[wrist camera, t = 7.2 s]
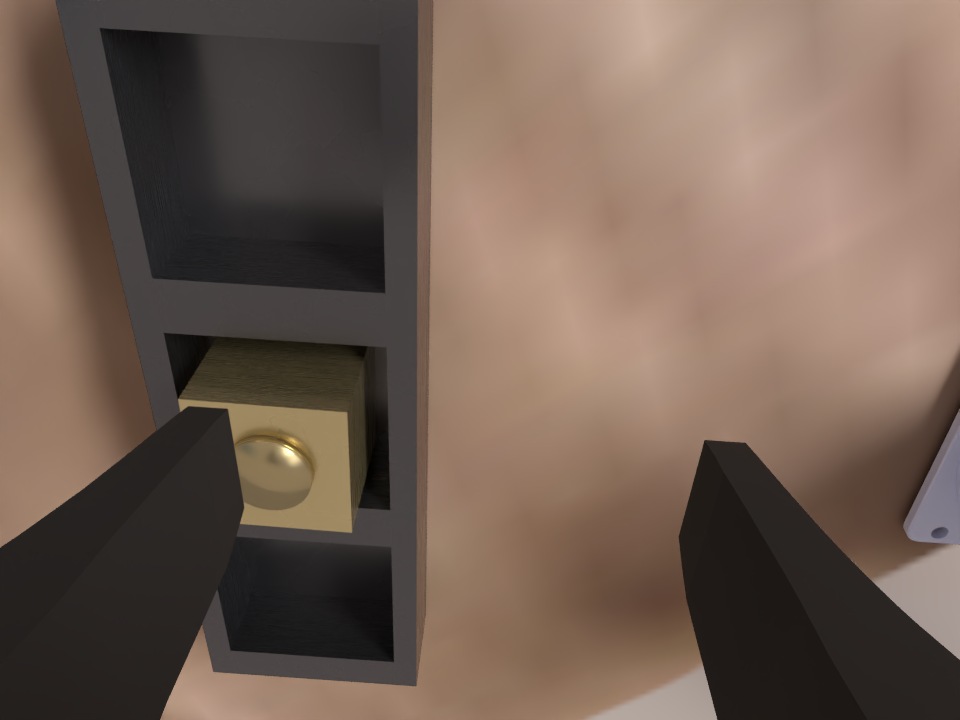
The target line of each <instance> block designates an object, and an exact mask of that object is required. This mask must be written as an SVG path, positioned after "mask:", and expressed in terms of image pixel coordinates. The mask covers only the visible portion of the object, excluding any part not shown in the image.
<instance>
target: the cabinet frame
mask: <svg viewBox="0 0 960 720" xmlns="http://www.w3.org/2000/svg"><path fill="white" fill-rule="evenodd" d="M56 5H57V9H58V13H59V17H60V22H61V26H62V30H63V34H64V39H65V43H66V47H67V51H68V56H69V60H70V64H71V68H72V73H73V77H74V81H75V85H76V90H77V94H78V98H79V102H80V107H81V111H82V115H83V119H84V124H85V128H86V132H87V136H88V141H89V145H90V149H91V153H92V158H93V162H94V166H95V170H96V175H97V179H98V183H99V187H100V192H101V196H102V200H103V204H104V209H105V213H106V217H107V221H108V226H109V230H110V234H111V238H112V242H113V247H114V251H115V255H116V259H117V264H118V268H119V272H120V276H121V281H122V285H123V289H124V293H125V298H126V302H127V306H128V310H129V315H130V319H131V323H132V327H133V332H134V336H135V340H136V344H137V349H138V353H139V357H140V361H141V366H142V370H143V374H144V378H145V383H146V387H147V391H148V395H149V400H150V404H151V408H152V412H153V417H154V421H155V425H156V429H157V430H158V429H160V428H161V427H162V426H163V425H165V424H166V423H167V422H168V421H169V420H171V419H172V418H173V417H175V416H176V415H177V414H178V413H180V407H179V402H178V398H179V397H180V395H181V394H182V392H183V390H184V389H185V387H186V386H187V384H188V382H189V381H190V379H191V378H192V376H193V374H194V373H195V371H196V370H197V368H198V367H199V365H200V363H201V362H202V360H203V359H204V357H205V355H206V354H207V352H208V351H209V349H210V347H211V346H212V344H213V343H214V341H215V340H216V338H217V336H219V337H235V338H250V339H265V340H281V341H296V342H312V343H327V344H342V345H358V346H373V347H375V390H376V440H375V444H374V448H373V451H372V455H371V459H370V463H369V467H368V471H367V475H366V479H365V483H364V487H363V491H362V495H361V499H360V503H359V507H358V511H357V515H356V519H355V523H354V527H353V531H352V533H349V532H336V531H323V530H311V529H298V528H286V527H273V526H260V525H248V524H240V525H239V529H238V532H237V536H236V539H235V543H234V546H233V549H232V552H231V555H230V559H229V562H228V565H227V568H226V570H225V573H224V575H223V577H222V580H221V582H220V584H219V587H218V589H217V591H216V593H215V596H214V598H213V600H212V602H211V605H210V607H209V609H208V612H207V614H206V616H205V618H204V621H203V623H202V625H203V629H204V633H205V637H206V642H207V646H208V650H209V654H210V659H211V663H212V667H213V671H214V672H223V673H237V674H251V675H265V676H279V677H293V678H308V679H322V680H336V681H350V682H364V683H378V684H393V685H407V686H416V685H417V677H418V669H419V662H420V654H421V646H422V638H423V630H424V622H425V615H426V539H427V458H428V377H429V296H430V216H431V135H432V54H433V0H56Z"/></svg>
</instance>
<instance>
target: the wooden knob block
mask: <svg viewBox="0 0 960 720" xmlns="http://www.w3.org/2000/svg"><path fill="white" fill-rule="evenodd" d="M178 402H179V407H180V412H181V411H182V410H184V409H185V408H186V407H188V406H195V407H210V408H225V409H228V412H229V418H230V424H231V430H232V436H233V442H234V448H235V454H236V460H237V466H238V472H239V478H240V484H241V490H242V496H243V502H244V511H243V515H242V518H241V522H240V524H248V525H260V526H273V527H286V528H298V529H311V530H323V531H336V532H349V533H352V531H353V527H354V523H355V519H356V515H357V511H358V507H359V503H360V499H361V495H362V491H363V487H364V483H365V479H366V475H367V471H368V467H369V463H370V459H371V455H372V451H373V448H374V444H375V440H376V390H375V347H373V346H358V345H342V344H327V343H312V342H296V341H281V340H265V339H250V338H235V337H219V336H217V338H216V340H215V341H214V343H213V344H212V346H211V347H210V349H209V351H208V352H207V354H206V355H205V357H204V359H203V360H202V362H201V363H200V365H199V367H198V368H197V370H196V371H195V373H194V374H193V376H192V378H191V379H190V381H189V382H188V384H187V386H186V387H185V389H184V390H183V392H182V394H181V395H180V397H179V398H178Z"/></svg>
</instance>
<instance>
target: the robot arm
mask: <svg viewBox="0 0 960 720" xmlns="http://www.w3.org/2000/svg"><path fill="white" fill-rule="evenodd" d="M243 511H244V502H243V496H242V490H241V484H240V478H239V472H238V466H237V460H236V454H235V448H234V442H233V436H232V430H231V424H230V418H229V412H228V409H225V408H210V407H195V406H188V407H186V408H185V409H184V410H182V411H181V412H180V413H178V414H177V415H176V416H175V417H173V418H172V419H171V420H169V421H168V422H167V423H166V424H165V425H163V426H162V427H161V428H160V429H158V430H157V431H156V432H155V433H153V434H152V435H151V436H150V437H148V438H147V439H146V440H145V441H144V442H142V443H141V444H140V445H139V446H137V447H136V448H135V449H134V450H132V451H131V452H130V453H129V454H127V455H126V456H125V457H124V458H122V459H121V460H120V461H119V462H117V463H116V464H115V465H113V466H112V467H111V468H110V469H108V470H107V471H106V472H104V473H103V474H102V475H101V476H99V477H98V478H97V479H96V480H94V481H93V482H92V483H90V484H89V485H88V486H87V487H85V488H84V489H83V490H81V491H80V492H79V493H77V494H76V495H75V496H73V497H72V498H70V499H69V500H68V501H66V502H65V503H63V504H62V505H61V506H59V507H58V508H56V509H55V510H54V511H52V512H51V513H49V514H48V515H47V516H45V517H44V518H42V519H41V520H40V521H38V522H37V523H35V524H34V525H33V526H31V527H30V528H28V529H27V530H26V531H24V532H23V533H21V534H20V535H19V536H17V537H16V538H14V539H13V540H11V541H10V542H8V543H7V544H5V545H4V546H2V547H1V548H0V720H160V718H161V716H162V713H163V711H164V708H165V706H166V703H167V701H168V698H169V696H170V694H171V692H172V690H173V687H174V685H175V683H176V681H177V678H178V676H179V674H180V672H181V670H182V667H183V665H184V663H185V661H186V658H187V656H188V654H189V652H190V649H191V647H192V645H193V643H194V641H195V638H196V636H197V634H198V632H199V629H200V627H201V625H202V623H203V621H204V618H205V616H206V614H207V612H208V609H209V607H210V605H211V602H212V600H213V598H214V596H215V593H216V591H217V589H218V587H219V584H220V582H221V580H222V577H223V575H224V573H225V570H226V568H227V565H228V562H229V559H230V555H231V552H232V549H233V546H234V543H235V539H236V536H237V532H238V529H239V525H240V522H241V518H242V515H243ZM938 527H940V528H938ZM903 528H904V530H905V532H906V534H907V536H908V538H910V539H911V540H913V541H917V542H930V543H945V544H960V409H959V411H958V413H957V415H956V417H955V419H954V422H953V424H952V426H951V428H950V430H949V432H948V434H947V436H946V438H945V440H944V442H943V444H942V446H941V448H940V450H939V452H938V454H937V456H936V458H935V460H934V462H933V464H932V467H931V469H930V471H929V473H928V475H927V477H926V479H925V481H924V483H923V485H922V487H921V489H920V491H919V493H918V495H917V497H916V499H915V501H914V503H913V505H912V507H911V509H910V512H909V514H908V516H907V518H906V520H905V522H904V525H903ZM936 528H937V529H936ZM679 543H680V552H681V561H682V569H683V577H684V584H685V591H686V599H687V603H688V607H689V611H690V615H691V619H692V623H693V627H694V631H695V635H696V639H697V643H698V647H699V651H700V654H701V658H702V662H703V666H704V670H705V674H706V677H707V681H708V685H709V689H710V693H711V697H712V700H713V704H714V708H715V712H716V716H717V720H960V660H959V659H958V658H957V657H956V656H954V655H953V654H952V653H951V652H950V651H948V650H947V649H946V648H945V647H944V646H942V645H941V644H940V643H939V642H938V641H937V640H935V639H934V638H933V637H932V636H931V635H930V634H929V633H927V632H926V631H925V630H924V629H923V628H921V627H920V626H919V625H918V624H917V623H915V621H913V620H912V619H911V618H910V617H909V616H908V615H907V614H906V613H905V612H904V611H902V610H901V609H900V608H899V607H898V606H897V605H896V604H895V603H894V602H893V601H892V600H891V599H890V598H889V597H887V595H886V594H885V593H883V592H882V591H881V590H880V589H879V588H878V587H877V586H876V585H875V584H874V583H873V582H872V581H871V580H870V579H869V578H868V577H867V576H866V575H865V574H864V573H863V572H862V571H861V570H860V569H859V568H858V567H857V566H856V565H855V564H854V563H853V562H852V561H851V560H850V559H849V558H848V557H847V556H846V555H845V554H844V553H843V552H842V551H841V550H840V549H839V548H838V546H837V545H836V544H835V543H834V542H833V541H832V540H831V539H830V538H829V537H828V536H827V535H826V534H825V533H824V531H823V530H822V529H821V528H820V527H819V526H818V525H817V524H816V523H815V522H814V521H813V519H812V518H811V517H810V516H809V515H808V514H807V513H806V512H805V511H804V509H803V508H802V507H801V506H800V505H799V504H798V503H797V501H796V500H795V499H794V498H793V497H792V496H791V495H790V493H789V492H788V491H787V490H786V489H785V488H784V487H783V485H782V484H781V483H780V482H779V481H778V480H777V478H776V477H775V476H774V475H773V474H772V473H771V472H770V470H769V469H768V468H767V467H766V466H765V465H764V463H763V462H762V461H761V460H760V459H759V458H758V456H757V455H756V454H755V453H754V452H753V451H752V450H751V448H750V447H749V446H748V445H747V444H746V443H739V442H724V441H708V440H705V441H704V445H703V449H702V452H701V456H700V460H699V463H698V467H697V471H696V475H695V478H694V482H693V486H692V490H691V493H690V497H689V501H688V505H687V508H686V512H685V516H684V519H683V523H682V527H681V531H680V534H679Z"/></svg>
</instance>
